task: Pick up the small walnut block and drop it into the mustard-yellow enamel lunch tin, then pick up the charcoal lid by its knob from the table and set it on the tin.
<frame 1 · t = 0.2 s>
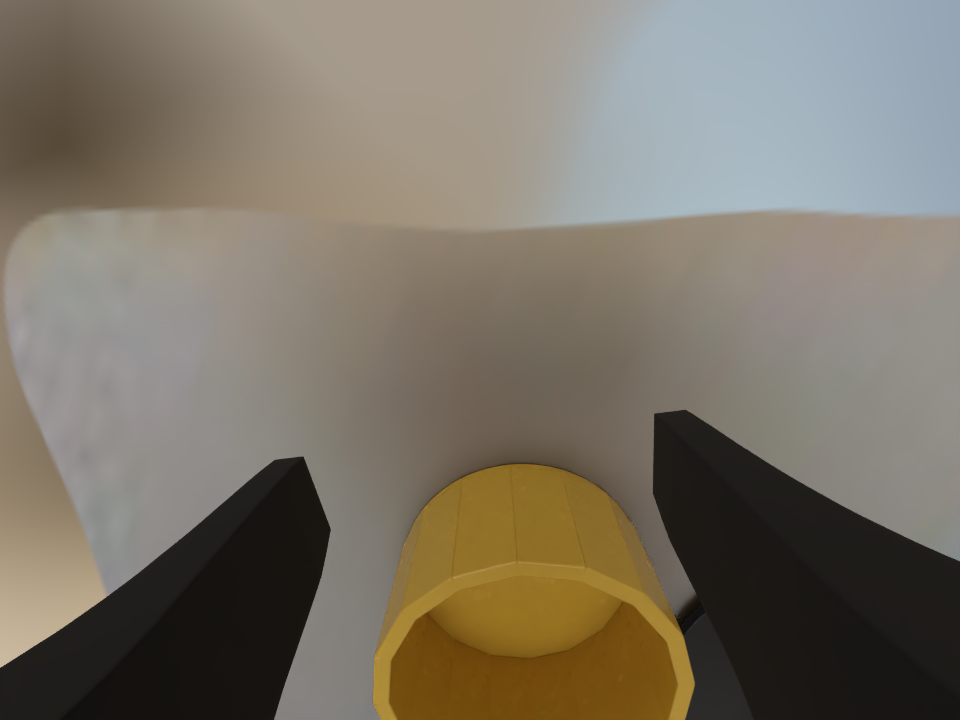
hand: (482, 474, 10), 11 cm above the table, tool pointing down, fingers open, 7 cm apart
tin lid: (786, 667, 24), point 1 cm above the table
tin: (520, 568, 24), on the table
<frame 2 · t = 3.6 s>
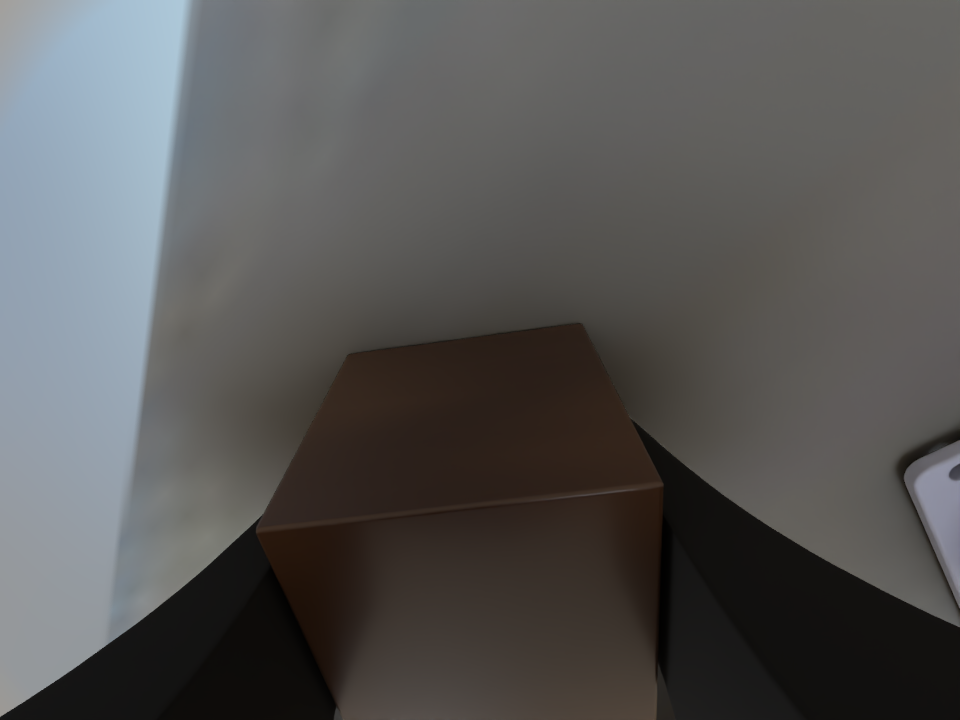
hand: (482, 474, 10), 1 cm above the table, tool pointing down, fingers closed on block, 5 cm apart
block: (480, 435, 11), on the table, touching gripper
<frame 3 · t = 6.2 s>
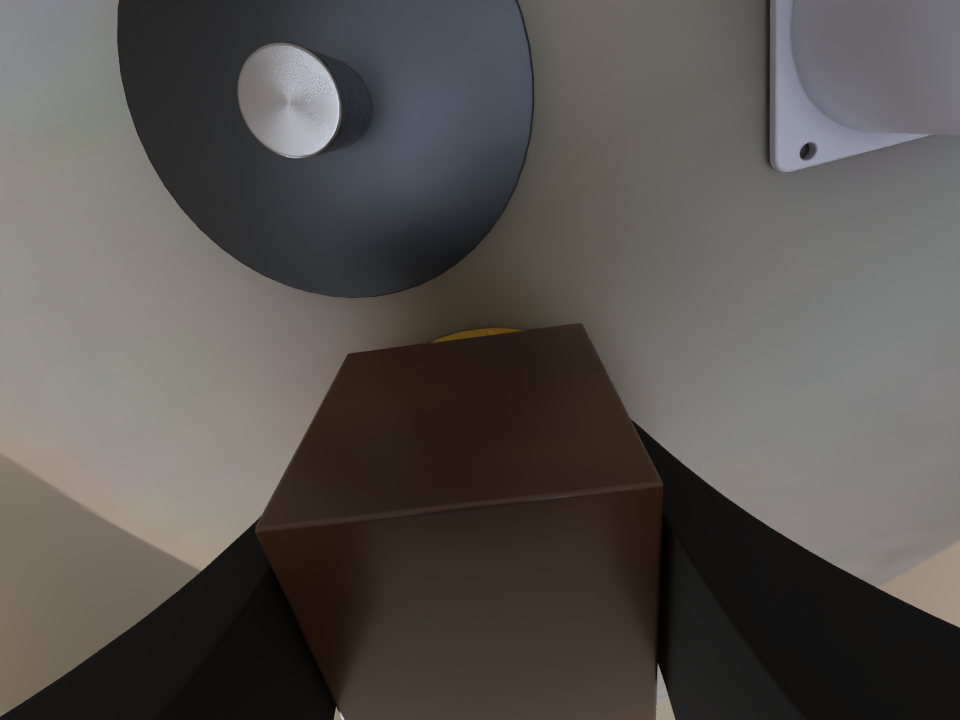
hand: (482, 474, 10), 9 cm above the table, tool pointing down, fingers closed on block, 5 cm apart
tin lid: (335, 105, 15), point 1 cm above the table
tin: (493, 446, 21), on the table
block: (479, 434, 11), point 8 cm above the table, touching gripper
when the fingers open (3 cm above the table, at t = 9.9 s): block stays where it is, resting on tin.
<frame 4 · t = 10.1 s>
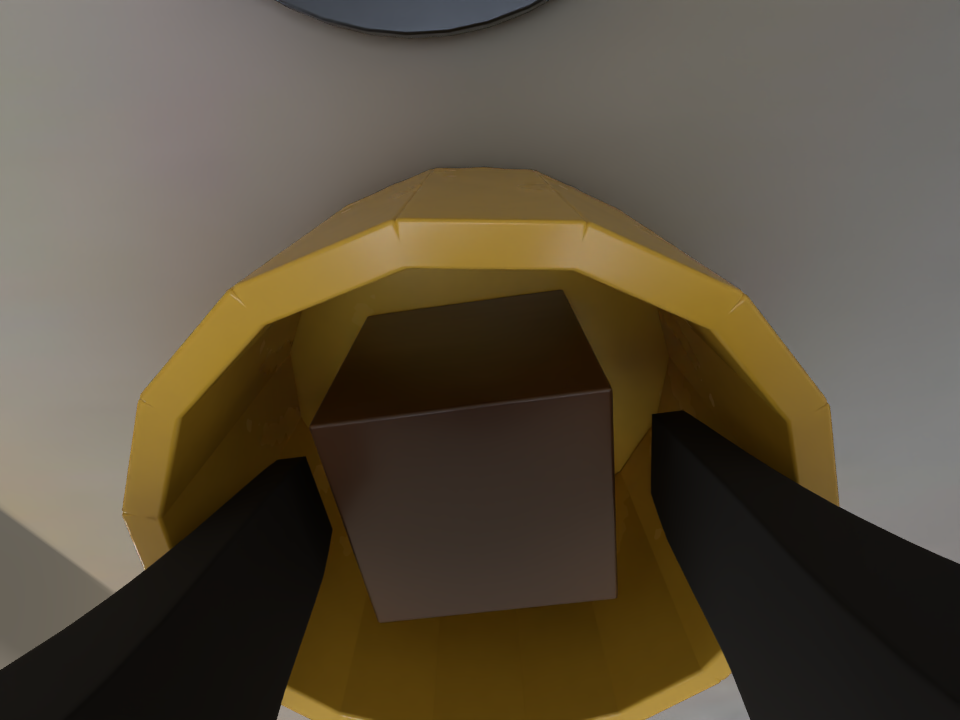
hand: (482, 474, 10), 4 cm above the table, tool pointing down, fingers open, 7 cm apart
tin: (479, 379, 14), on the table
block: (477, 387, 14), resting on tin
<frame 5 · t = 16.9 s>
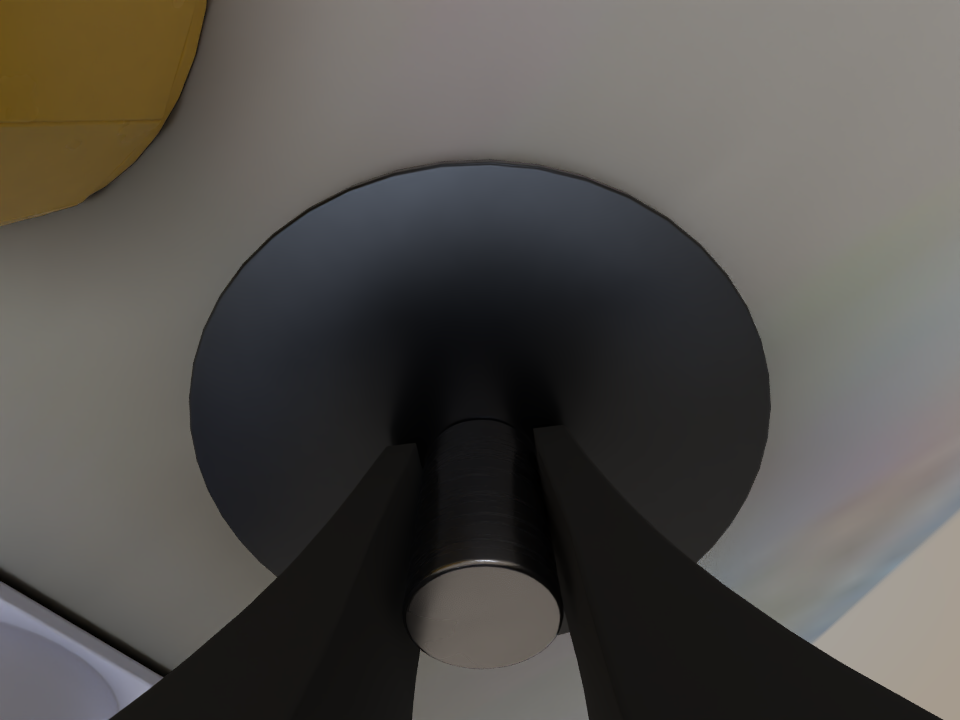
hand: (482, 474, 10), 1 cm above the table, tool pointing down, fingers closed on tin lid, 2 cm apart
tin lid: (480, 450, 11), point 1 cm above the table, touching gripper
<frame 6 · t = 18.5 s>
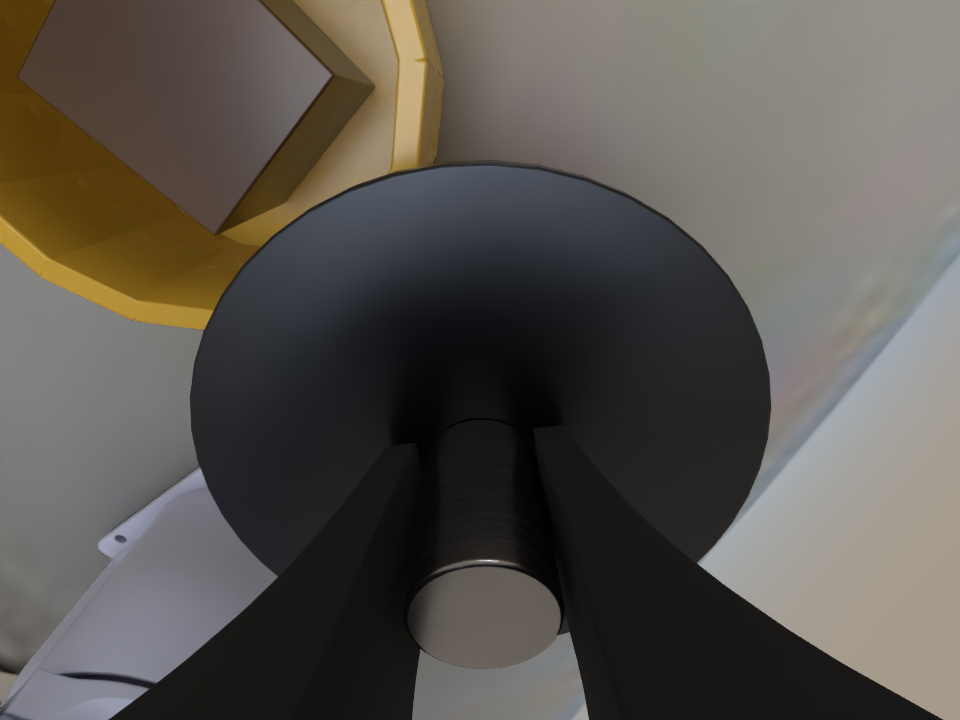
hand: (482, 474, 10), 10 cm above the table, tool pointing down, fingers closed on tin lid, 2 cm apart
tin lid: (481, 451, 11), point 9 cm above the table, touching gripper
tin: (266, 89, 16), on the table
block: (262, 87, 15), resting on tin
when the fingers open (7 cm above the table, at t = 20.6 s): tin lid stays where it is, resting on tin.
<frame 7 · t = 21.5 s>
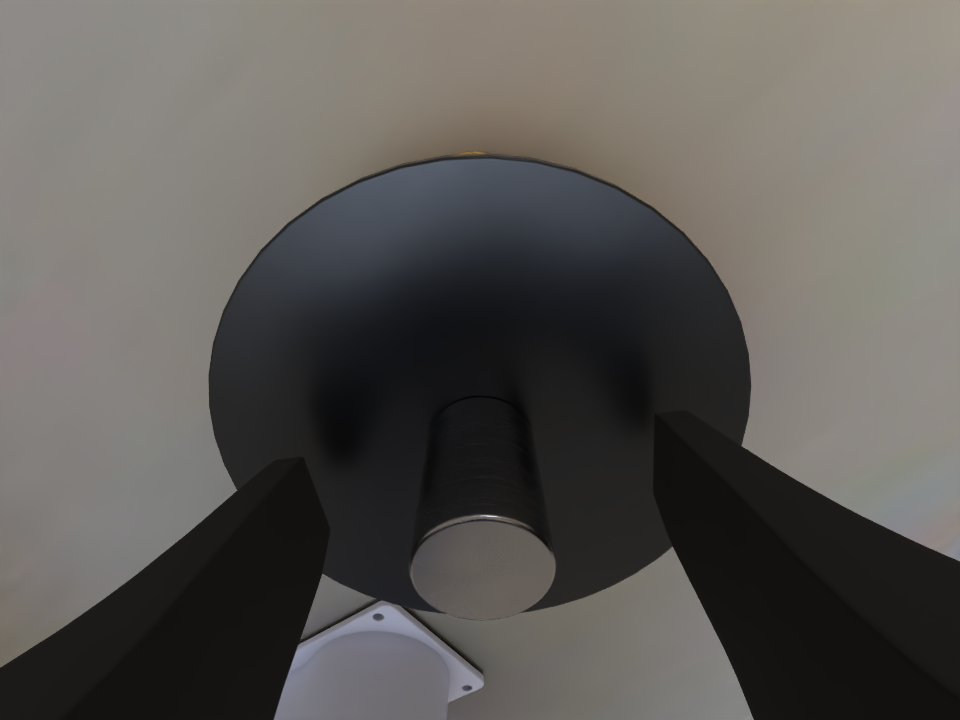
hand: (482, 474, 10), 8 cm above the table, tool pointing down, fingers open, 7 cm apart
tin lid: (480, 428, 12), point 6 cm above the table, touching tin
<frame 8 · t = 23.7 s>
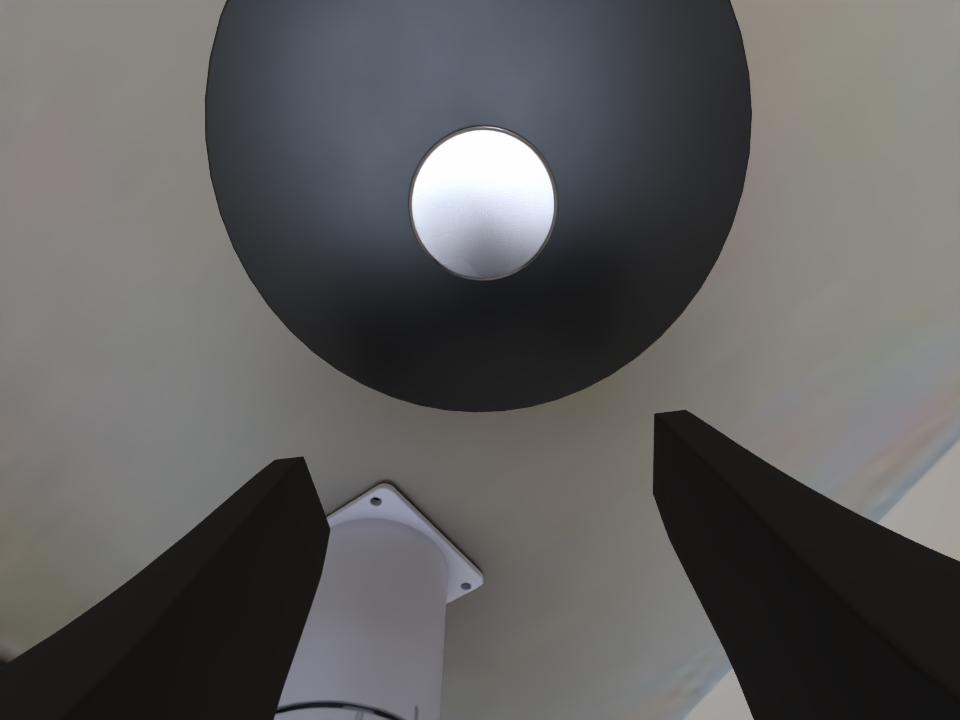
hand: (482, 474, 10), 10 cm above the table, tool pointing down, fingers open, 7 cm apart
tin lid: (479, 181, 12), point 6 cm above the table, touching tin
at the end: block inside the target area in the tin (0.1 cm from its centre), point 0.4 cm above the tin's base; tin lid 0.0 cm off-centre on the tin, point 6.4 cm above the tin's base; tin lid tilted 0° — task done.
